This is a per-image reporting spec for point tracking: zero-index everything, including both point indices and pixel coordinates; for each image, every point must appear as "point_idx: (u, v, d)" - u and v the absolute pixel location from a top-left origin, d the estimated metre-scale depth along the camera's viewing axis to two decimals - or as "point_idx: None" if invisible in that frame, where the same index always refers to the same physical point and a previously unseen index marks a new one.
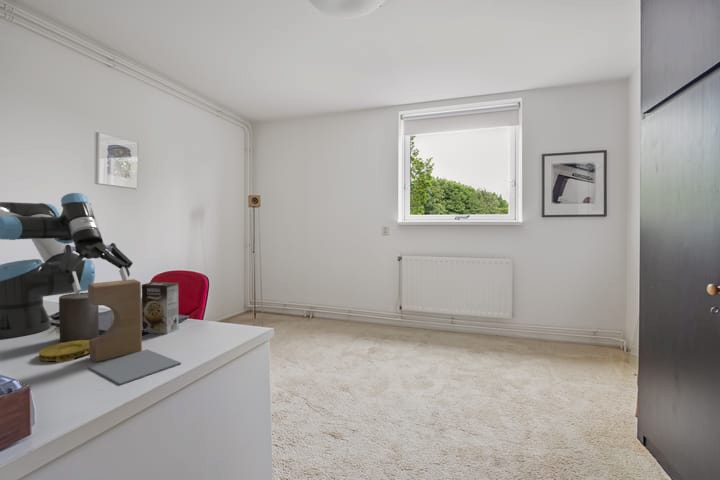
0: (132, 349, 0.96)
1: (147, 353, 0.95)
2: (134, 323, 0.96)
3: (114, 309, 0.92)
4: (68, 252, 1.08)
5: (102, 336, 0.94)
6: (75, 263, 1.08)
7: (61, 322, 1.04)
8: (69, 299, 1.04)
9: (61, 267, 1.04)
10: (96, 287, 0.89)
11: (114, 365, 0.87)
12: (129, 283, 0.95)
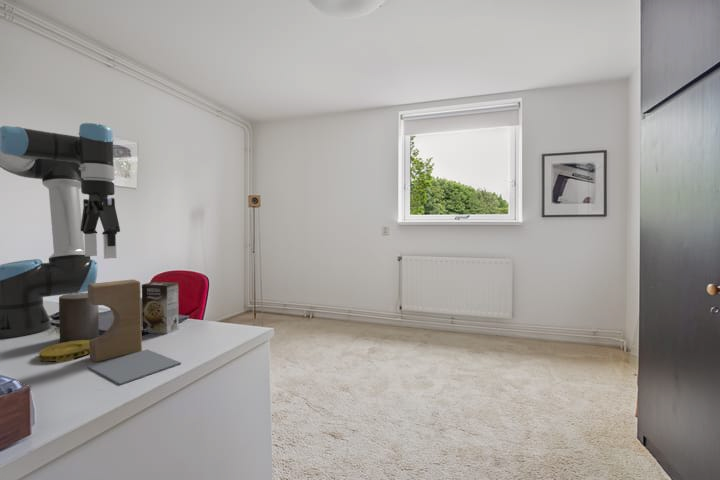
0: (132, 349, 0.96)
1: (147, 353, 0.95)
2: (134, 323, 0.96)
3: (114, 309, 0.93)
4: (84, 209, 1.01)
5: (102, 336, 0.94)
6: (86, 223, 1.00)
7: (61, 322, 1.04)
8: (69, 299, 1.04)
9: (81, 227, 1.02)
10: (96, 287, 0.90)
11: (114, 365, 0.87)
12: (129, 283, 0.95)
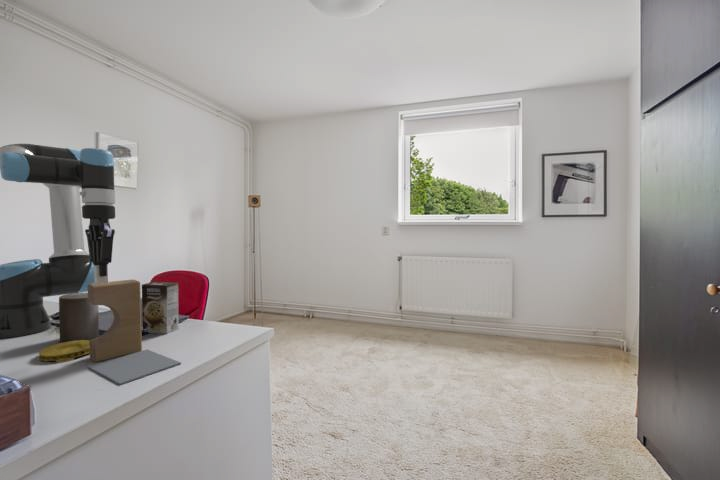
0: (132, 349, 0.96)
1: (147, 353, 0.95)
2: (134, 323, 0.96)
3: (114, 309, 0.93)
4: (88, 238, 1.00)
5: (102, 336, 0.94)
6: (93, 252, 0.98)
7: (61, 322, 1.04)
8: (69, 299, 1.04)
9: (90, 258, 1.00)
10: (96, 287, 0.90)
11: (114, 365, 0.87)
12: (129, 283, 0.95)
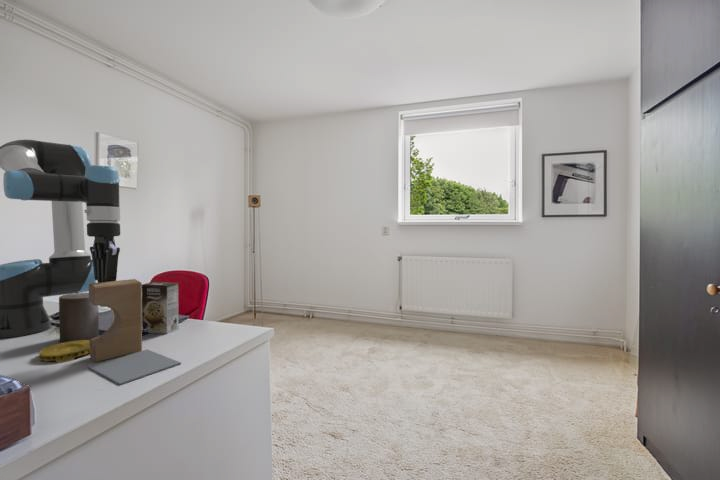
0: (132, 349, 0.96)
1: (147, 353, 0.95)
2: (135, 323, 0.96)
3: (115, 309, 0.92)
4: (92, 256, 0.99)
5: (102, 336, 0.94)
6: (98, 270, 0.97)
7: (61, 322, 1.04)
8: (69, 299, 1.04)
9: (94, 276, 0.98)
10: (97, 287, 0.89)
11: (114, 365, 0.87)
12: (130, 283, 0.94)
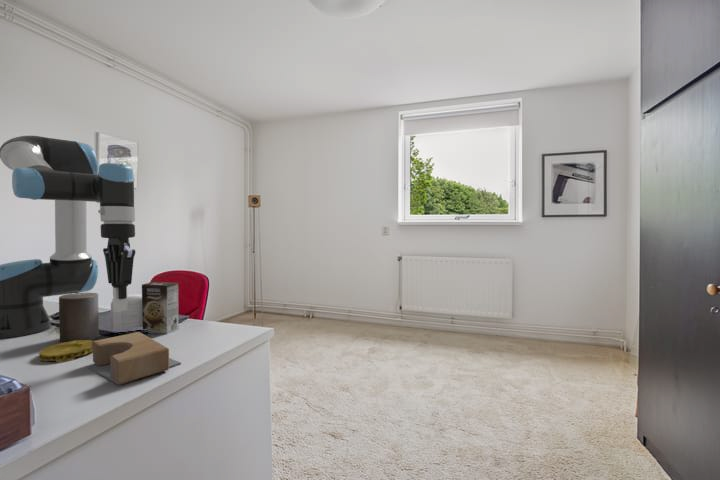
0: None
1: None
2: None
3: None
4: (106, 258, 0.94)
5: (110, 349, 0.88)
6: (112, 273, 0.93)
7: (61, 322, 1.04)
8: (69, 299, 1.04)
9: (108, 279, 0.94)
10: (121, 383, 0.77)
11: None
12: (157, 372, 0.83)
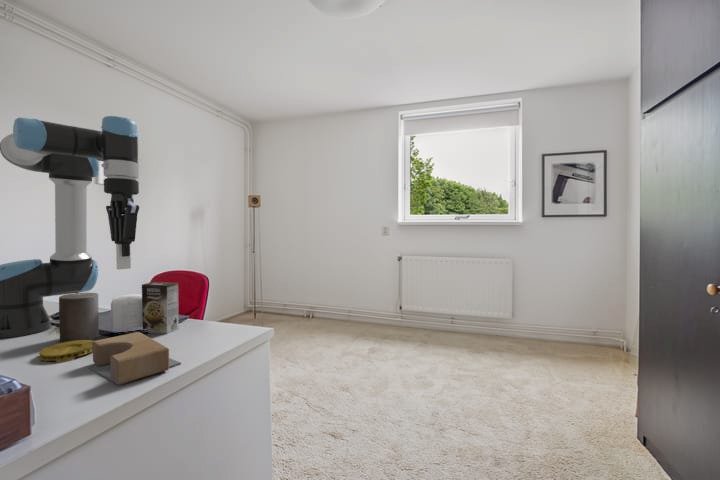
0: None
1: None
2: None
3: None
4: (109, 215, 0.92)
5: (110, 349, 0.88)
6: (115, 230, 0.91)
7: (61, 322, 1.04)
8: (69, 299, 1.04)
9: (111, 237, 0.92)
10: (121, 383, 0.77)
11: None
12: (157, 372, 0.83)
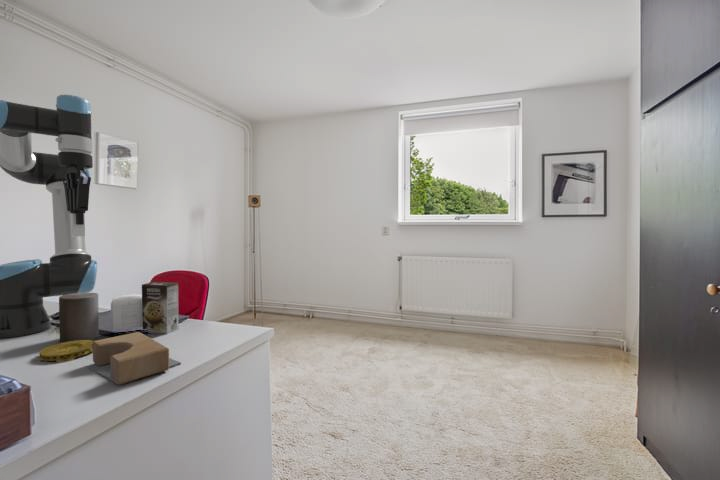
0: None
1: None
2: None
3: None
4: (65, 187, 1.00)
5: (110, 349, 0.88)
6: (70, 200, 0.98)
7: (61, 322, 1.04)
8: (69, 299, 1.04)
9: (67, 207, 1.00)
10: (121, 383, 0.77)
11: None
12: (157, 372, 0.83)
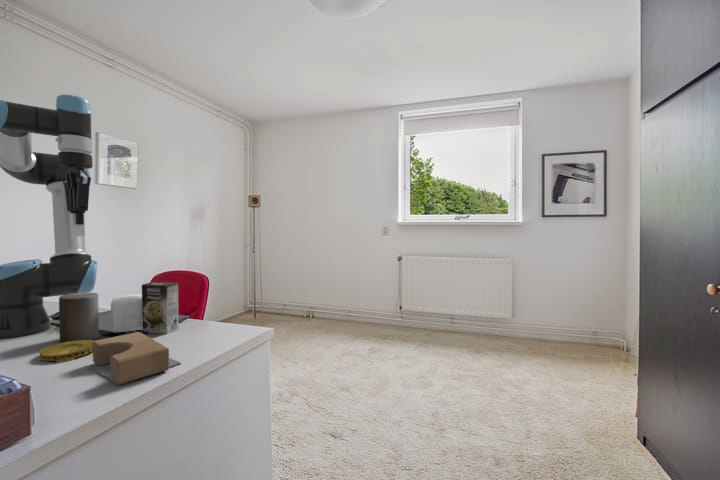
0: None
1: None
2: None
3: None
4: (65, 187, 1.00)
5: (110, 349, 0.88)
6: (70, 200, 0.98)
7: (61, 322, 1.04)
8: (69, 299, 1.04)
9: (67, 207, 1.00)
10: (121, 383, 0.77)
11: None
12: (157, 372, 0.83)
